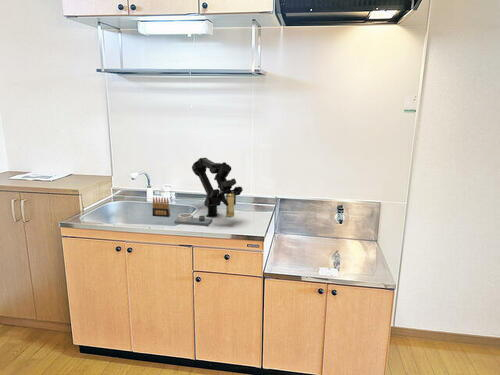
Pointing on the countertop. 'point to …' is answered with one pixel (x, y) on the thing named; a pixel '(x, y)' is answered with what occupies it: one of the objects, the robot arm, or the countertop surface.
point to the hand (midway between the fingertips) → (231, 205)
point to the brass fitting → (230, 205)
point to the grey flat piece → (192, 220)
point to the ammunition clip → (161, 208)
